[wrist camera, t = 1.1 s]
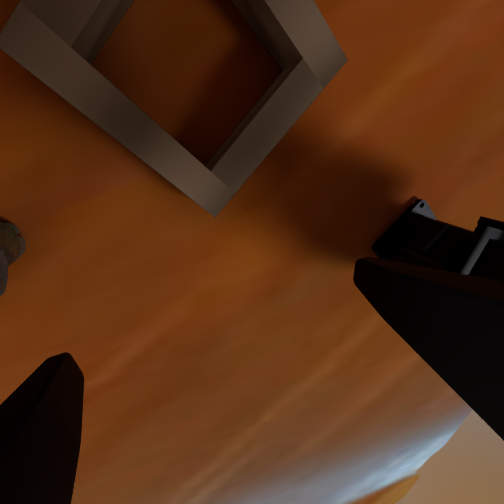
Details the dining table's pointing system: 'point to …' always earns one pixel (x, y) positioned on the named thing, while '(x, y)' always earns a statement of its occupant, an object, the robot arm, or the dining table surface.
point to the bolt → (9, 250)
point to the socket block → (139, 123)
